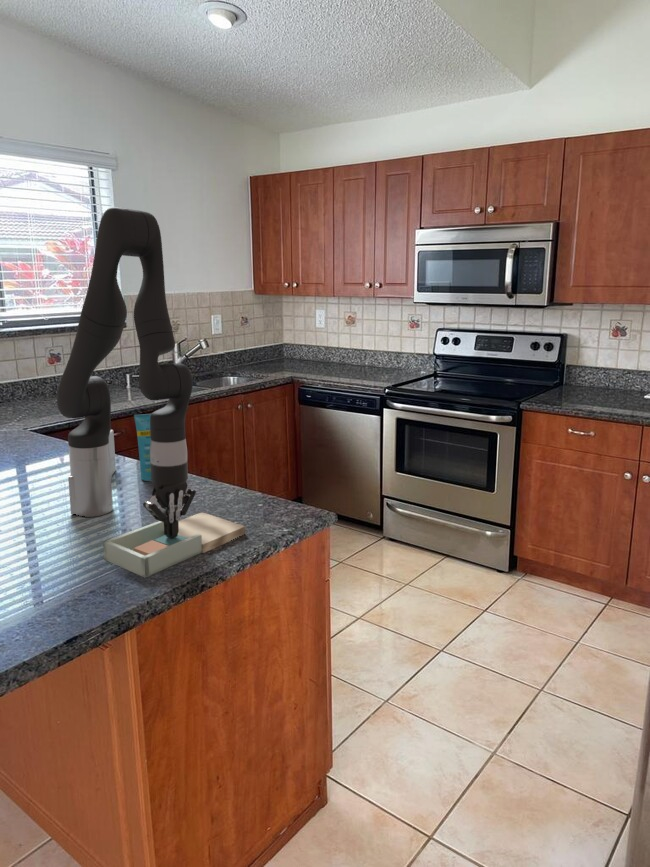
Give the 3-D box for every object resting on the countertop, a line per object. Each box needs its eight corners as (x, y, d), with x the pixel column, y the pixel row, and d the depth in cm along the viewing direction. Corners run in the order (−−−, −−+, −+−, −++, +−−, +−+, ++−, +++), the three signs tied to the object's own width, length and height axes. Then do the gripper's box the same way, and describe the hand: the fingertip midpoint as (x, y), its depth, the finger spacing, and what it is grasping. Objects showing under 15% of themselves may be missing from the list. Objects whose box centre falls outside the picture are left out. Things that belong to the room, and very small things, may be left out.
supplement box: (91, 470, 191) (88, 429, 188) (116, 470, 192) (114, 429, 188) (84, 478, 184) (81, 435, 181) (110, 478, 184) (108, 435, 181)
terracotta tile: (150, 563, 131) (150, 554, 130) (134, 556, 133) (133, 548, 133) (169, 554, 135) (168, 545, 134) (152, 548, 137) (152, 540, 137)
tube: (140, 483, 181) (137, 416, 176) (134, 478, 184) (131, 413, 180) (165, 479, 185) (163, 413, 180) (160, 474, 188) (157, 410, 184)
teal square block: (170, 554, 135) (170, 545, 134) (154, 548, 137) (153, 539, 137) (187, 546, 139) (187, 537, 138) (171, 540, 141) (171, 532, 141)
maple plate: (203, 553, 137) (203, 544, 136) (159, 536, 145) (159, 528, 144) (245, 534, 147) (245, 526, 147) (202, 519, 155) (202, 512, 155)
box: (145, 577, 125) (144, 558, 124) (104, 559, 133) (103, 541, 132) (201, 552, 137) (201, 535, 136) (161, 537, 145) (160, 520, 144)
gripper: (155, 470, 127) (158, 551, 131) (204, 456, 137) (206, 531, 141) (131, 463, 131) (135, 542, 135) (180, 449, 141) (183, 523, 146)
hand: (171, 536), depth 138 cm, fingers closed
